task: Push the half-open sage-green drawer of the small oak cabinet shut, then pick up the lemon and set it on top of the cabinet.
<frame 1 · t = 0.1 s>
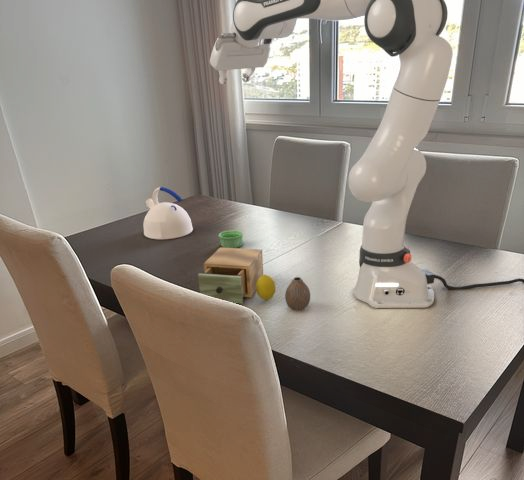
hand: (233, 81, 148), 54 cm above the table, tool tilted 30°, fingers open, 8 cm apart
cabinet: (236, 286, 151), on the table
drawer: (226, 281, 143), point 5 cm above the table, slide at 5.0 cm
vase: (297, 308, 137), on the table
ramekin: (231, 245, 184), on the table
kettle: (168, 232, 202), on the table
lemon: (266, 301, 142), on the table
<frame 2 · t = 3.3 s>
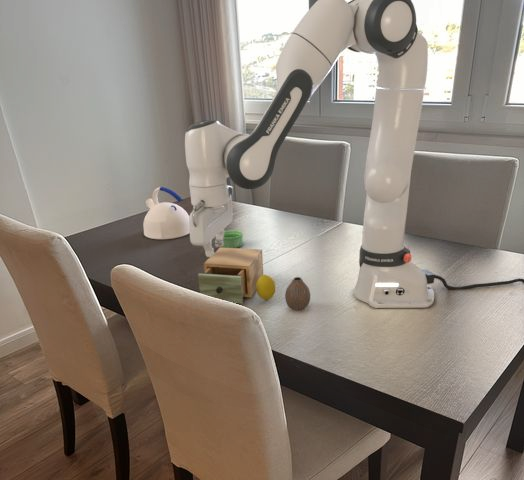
hand: (214, 251, 123), 19 cm above the table, tool pointing down, fingers open, 5 cm apart
nothing on the table moved.
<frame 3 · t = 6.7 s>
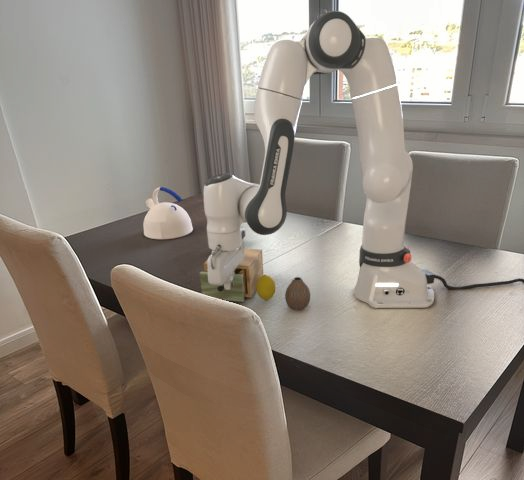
hand: (229, 287, 136), 6 cm above the table, tool pointing down, fingers closed
drawer: (228, 279, 144), point 5 cm above the table, slide at 3.7 cm, touching gripper
everything else where it was.
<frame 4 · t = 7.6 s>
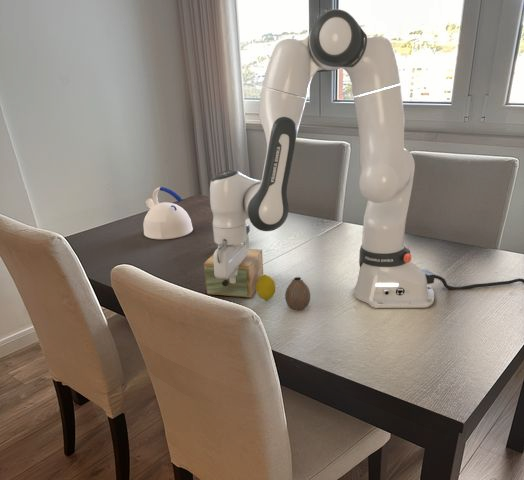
hand: (233, 281, 139), 6 cm above the table, tool pointing down, fingers closed
drawer: (232, 274, 147), point 5 cm above the table, slide at 0.0 cm, touching cabinet, gripper
everything else where it was.
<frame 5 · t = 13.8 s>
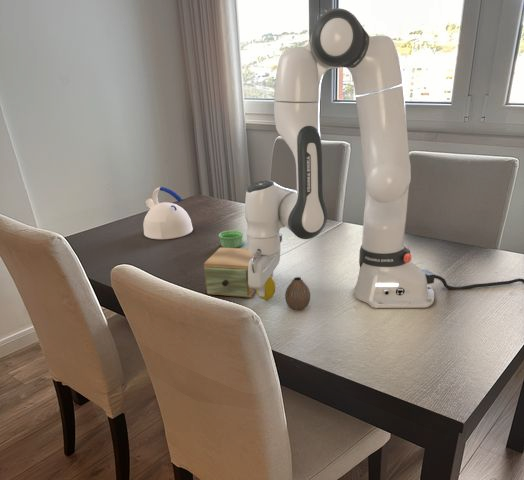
hand: (265, 290, 140), 3 cm above the table, tool pointing down, fingers closed on lemon, 5 cm apart
drawer: (232, 274, 147), point 5 cm above the table, slide at 0.0 cm, touching cabinet
lemon: (266, 301, 142), on the table, touching gripper
everything else where it was.
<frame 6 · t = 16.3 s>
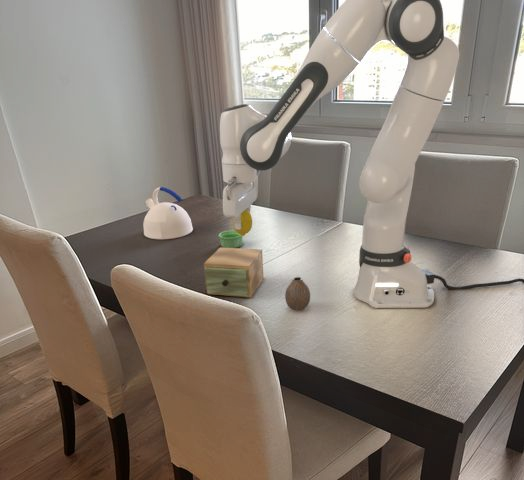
hand: (242, 224, 136), 21 cm above the table, tool pointing down, fingers closed on lemon, 5 cm apart
lemon: (243, 236, 138), point 17 cm above the table, touching gripper
everything else where it was.
when the fingers open (13 cm above the table, at t = 19.1 s): lemon stays where it is, resting on cabinet.
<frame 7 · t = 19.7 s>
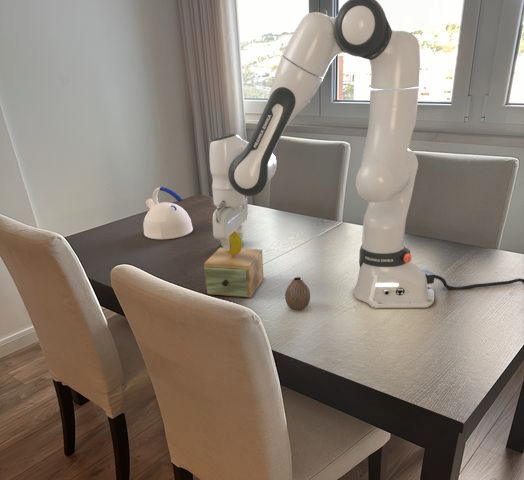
hand: (232, 244, 144), 13 cm above the table, tool pointing down, fingers open, 8 cm apart
lemon: (233, 257, 146), point 10 cm above the table, touching cabinet
everything else where it was.
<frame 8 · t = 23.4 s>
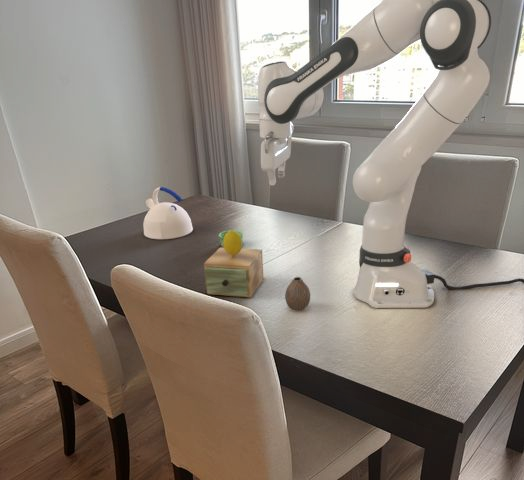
hand: (277, 181, 143), 29 cm above the table, tool pointing down, fingers open, 8 cm apart
nothing on the table moved.
at the end: drawer slide at 0.0 cm; lemon inside the target area on the cabinet (0.0 cm from its centre), point 9.6 cm above the cabinet's base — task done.
